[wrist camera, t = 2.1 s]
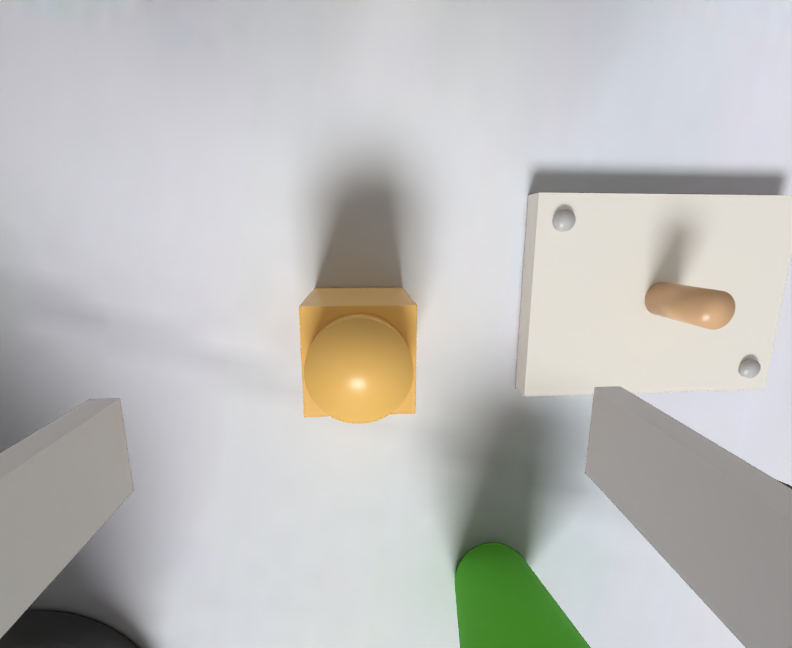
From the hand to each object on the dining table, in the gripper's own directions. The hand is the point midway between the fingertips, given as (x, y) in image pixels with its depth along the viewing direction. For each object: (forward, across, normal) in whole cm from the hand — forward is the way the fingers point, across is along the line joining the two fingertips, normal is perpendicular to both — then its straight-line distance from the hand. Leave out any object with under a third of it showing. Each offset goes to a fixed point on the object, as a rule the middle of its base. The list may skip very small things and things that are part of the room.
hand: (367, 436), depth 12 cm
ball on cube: (+14, 0, 0) cm, 14 cm away
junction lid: (+14, +18, +2) cm, 23 cm away
